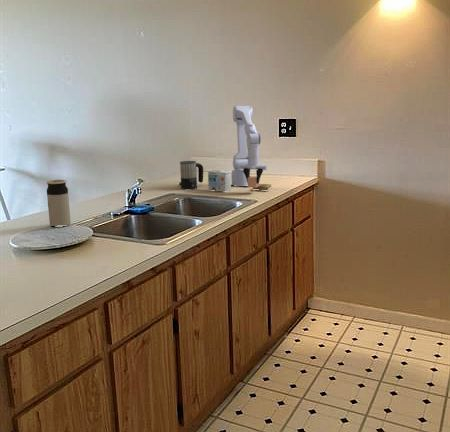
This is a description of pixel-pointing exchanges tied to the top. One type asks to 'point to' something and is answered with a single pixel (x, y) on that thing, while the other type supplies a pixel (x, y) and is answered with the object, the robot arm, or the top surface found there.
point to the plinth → (263, 186)
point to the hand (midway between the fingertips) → (253, 183)
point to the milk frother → (190, 174)
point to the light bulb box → (219, 180)
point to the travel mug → (58, 203)
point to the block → (252, 181)
